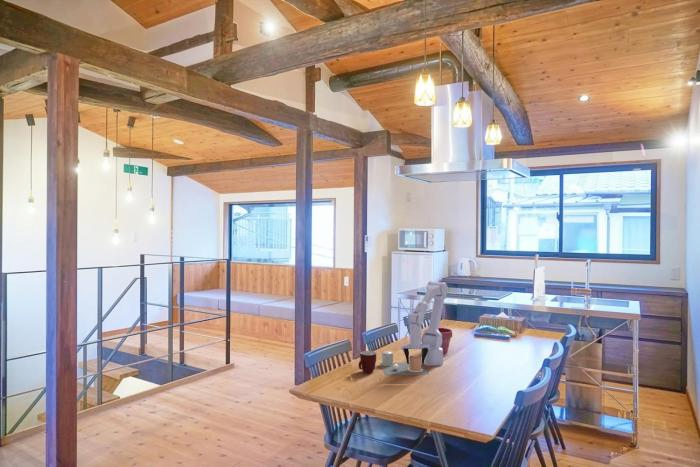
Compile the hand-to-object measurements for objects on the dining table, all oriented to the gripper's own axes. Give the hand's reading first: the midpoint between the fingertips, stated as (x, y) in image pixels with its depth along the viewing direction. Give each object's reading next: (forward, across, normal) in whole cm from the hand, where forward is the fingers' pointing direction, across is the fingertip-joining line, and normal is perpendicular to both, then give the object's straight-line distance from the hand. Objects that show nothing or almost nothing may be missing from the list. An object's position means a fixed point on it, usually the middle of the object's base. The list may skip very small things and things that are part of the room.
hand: (415, 363), depth 229 cm
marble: (+2, -10, 0) cm, 10 cm away
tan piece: (+3, 0, 0) cm, 3 cm away
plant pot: (+4, +22, +36) cm, 42 cm away
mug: (+4, -25, -3) cm, 26 cm away
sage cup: (+3, -13, +9) cm, 16 cm away
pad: (+3, 0, 0) cm, 3 cm away
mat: (+4, -6, +2) cm, 7 cm away
